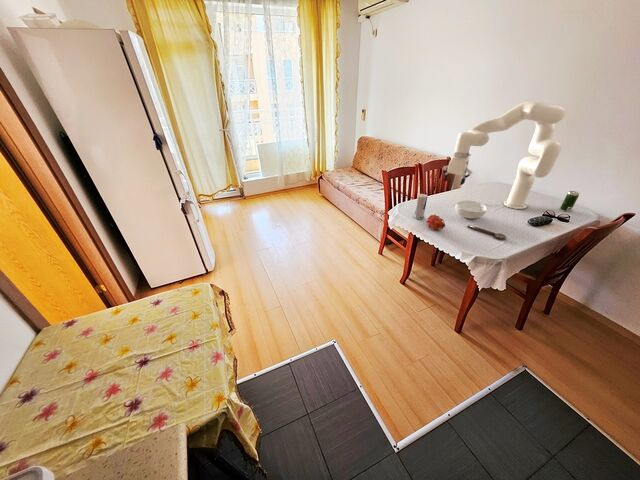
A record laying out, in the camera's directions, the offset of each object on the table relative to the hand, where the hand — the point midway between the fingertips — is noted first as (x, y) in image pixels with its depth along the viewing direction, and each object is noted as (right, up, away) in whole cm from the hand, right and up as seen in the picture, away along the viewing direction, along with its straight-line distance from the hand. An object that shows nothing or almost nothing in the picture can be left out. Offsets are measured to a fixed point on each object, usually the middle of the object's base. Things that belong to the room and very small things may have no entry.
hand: (453, 182), depth 158 cm
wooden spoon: (+10, -32, -17) cm, 38 cm away
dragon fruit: (-16, -29, -9) cm, 34 cm away
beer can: (+71, -17, +1) cm, 73 cm away
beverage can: (-21, -22, +3) cm, 30 cm away
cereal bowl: (+10, -21, +2) cm, 23 cm away
